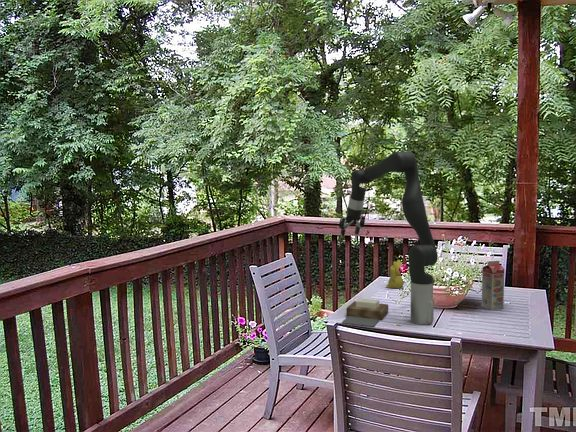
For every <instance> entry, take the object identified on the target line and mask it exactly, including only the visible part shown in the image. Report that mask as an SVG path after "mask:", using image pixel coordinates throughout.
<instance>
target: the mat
mask: <svg viewBox="0 0 576 432" xmlns="http://www.w3.org/2000/svg"><path fill="white" fill-rule="evenodd" d="M379 321H380V320H379V319H371V318H362V317H353V316H348V317H347V316H346V318H345V319H344V320H342V321H341V324H342V323H343V325H350V326H351V325H352V326H358V327H359V326H360V327H367V328H375V327H376V326H377V324H378V323H379Z"/></svg>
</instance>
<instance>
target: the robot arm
mask: <svg viewBox="0 0 576 432" xmlns="http://www.w3.org/2000/svg"><path fill="white" fill-rule="evenodd" d="M387 173H397V174H398V173H404V175H405V181H406V186H405V190H404V193H403V196H402V198H401V205H402V210H403V215H404V218H405V220H406V222H407V223H408V224H409V225H410V227H411V228H412V229H413V230H414V231H415V233H416V235H417V237H418V240H419V243H420V244H416V245H413V246H411V247H410V249H409V251H408V274H409V277H410V322H411V323H413V324H417V325H432V324H433V322H434V316H435V315H434V312H435V311H434V310H435V309H434V308H435V305H434V304H435V302H434V301H435V300H434V276H433V275H431V274H429V273H426V271H425V267H429V266H434V265H435V264H436V263H437V261H438V259H439V257H438V250H437V249H438V248H437V246H436V243H435V240H434V238H433V234H432V231H431V227H430V225H429V220H428V215H427V210H426V207H425V202H424V198H423V194H422V188H421V184H420V183H421V182H420V179H419V177H420V176H419V170H418V161H417V158H416V156H415V154H414V153H413V152H411V151H394V152H392V153H391V154H389V155H388V156H386V157H385V158H384V159H382V160H381V161H379V162H376V163H374V164H371V165H369V166H367V167H366V168H364V169H354V170H353V171H352V172H351V174H350V182H351V193H350V198H349V200H348V204H347V209H346V216H341V217H340V219H339V222H338V223H339V224H338V228H340V230H341V231H340V235H341V236H342V237H344V236H345V234H346V230H347V228H349V227H350V226H356V227H355V230H354V234H355V236H358V235H359V234H360V230H361V228H364V227H365V223H366V222H365V221H366V217H365V216H364V215H363V214H362V213H363V209H364V203H365V197H366V189H365V188H364V187H362V186H360V184H363V185H364V184H370V183H372V182H374V180H377V179H380V178H383V177H384V176H385V174H387Z"/></svg>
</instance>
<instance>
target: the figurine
mask: <svg viewBox="0 0 576 432" xmlns="http://www.w3.org/2000/svg"><path fill="white" fill-rule="evenodd" d="M392 263H393V264H392V265H391V266H390V268H389V272H390V274H389V276H390V277H389V279H388V281H387V283H388V284H386V288H387V289H388V288H389V289H400V288H402V287H403V286H404V284H405V281H403V279H402V278H401V274H400V272H399V268H400V266H402V265H403V264H402V261H401V260H400V259H397V261H393V262H392Z"/></svg>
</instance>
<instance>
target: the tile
mask: <svg viewBox="0 0 576 432" xmlns="http://www.w3.org/2000/svg"><path fill="white" fill-rule="evenodd" d="M355 301H356V307H362V308H371V309H376V308H377V307H378V306H379V304H380V299H374V298H373V299H372V298H364V297H363V298H361V297H360V298H358V299H357V300H355Z"/></svg>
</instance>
